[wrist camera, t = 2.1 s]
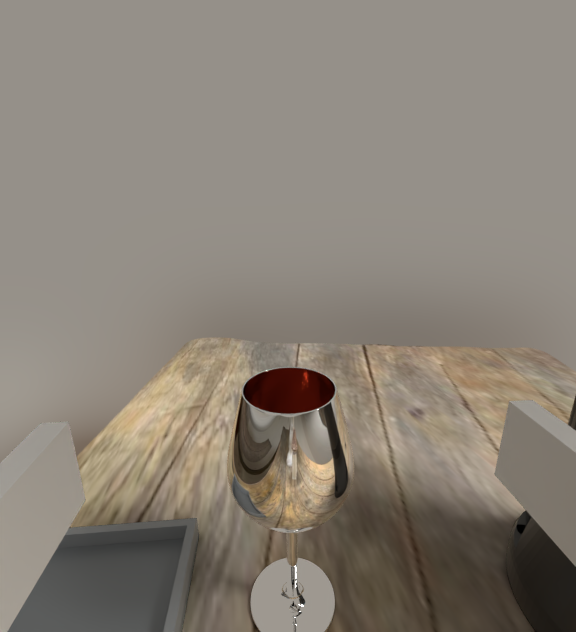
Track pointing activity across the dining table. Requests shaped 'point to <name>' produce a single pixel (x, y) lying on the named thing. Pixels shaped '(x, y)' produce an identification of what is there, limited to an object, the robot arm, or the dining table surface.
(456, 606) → the dining table surface
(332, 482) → the wineglass
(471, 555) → the dining table surface
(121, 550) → the tray
